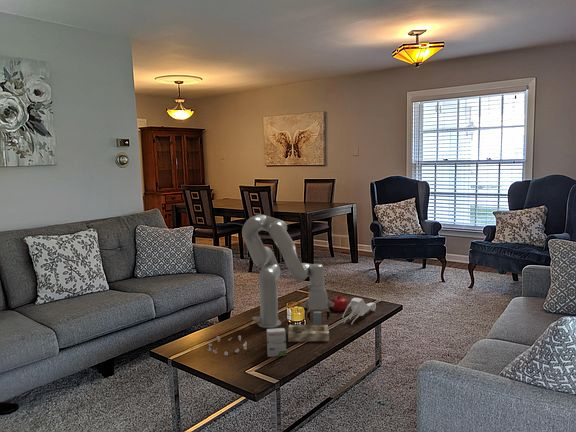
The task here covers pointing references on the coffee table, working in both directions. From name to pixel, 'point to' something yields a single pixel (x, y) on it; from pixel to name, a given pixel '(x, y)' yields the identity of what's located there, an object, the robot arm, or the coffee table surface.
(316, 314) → the grey rectangular block
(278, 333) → the ink box
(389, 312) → the coffee table surface
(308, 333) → the socket block
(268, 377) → the coffee table surface
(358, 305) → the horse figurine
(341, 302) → the pomegranate
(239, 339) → the game piece set
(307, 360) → the coffee table surface
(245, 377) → the coffee table surface
